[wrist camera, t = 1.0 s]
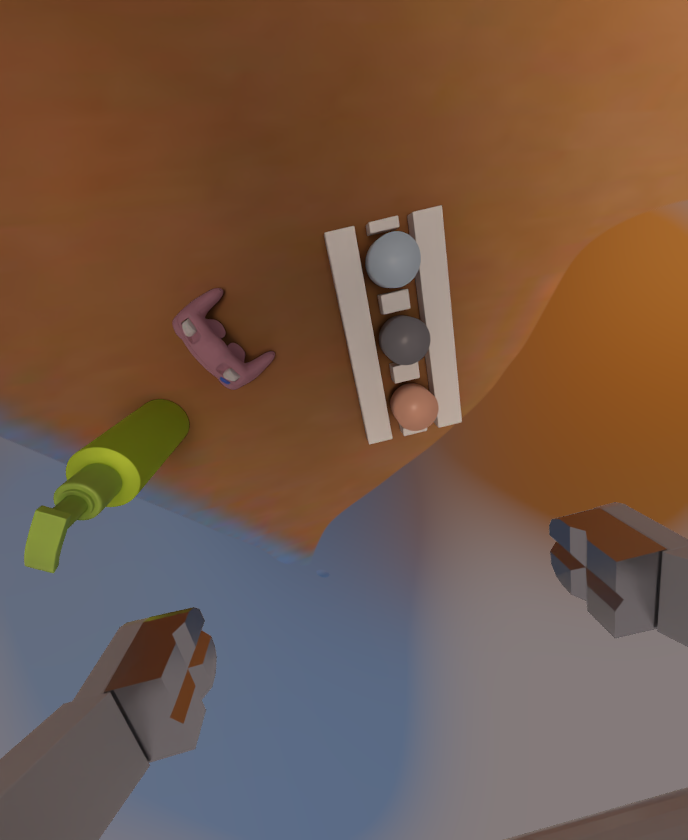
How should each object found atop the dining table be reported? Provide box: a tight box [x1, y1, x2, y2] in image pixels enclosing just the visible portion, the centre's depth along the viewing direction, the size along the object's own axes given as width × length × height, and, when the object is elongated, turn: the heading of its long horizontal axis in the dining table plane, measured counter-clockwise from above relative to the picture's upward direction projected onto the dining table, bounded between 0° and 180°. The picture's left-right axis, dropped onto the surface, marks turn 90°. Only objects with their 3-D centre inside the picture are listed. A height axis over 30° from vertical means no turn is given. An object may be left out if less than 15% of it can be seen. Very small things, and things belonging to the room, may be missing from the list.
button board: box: [324, 205, 462, 444], centre depth 39 cm, size 24×12×2 cm, turn 13°
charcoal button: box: [379, 315, 430, 365], centre depth 37 cm, size 5×5×3 cm
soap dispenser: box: [24, 399, 189, 573], centre depth 32 cm, size 6×7×20 cm
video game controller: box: [173, 288, 275, 390], centre depth 36 cm, size 10×5×7 cm, turn 37°
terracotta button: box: [390, 383, 439, 431], centre depth 40 cm, size 5×5×3 cm
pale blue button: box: [365, 231, 421, 288], centre depth 34 cm, size 5×5×3 cm
